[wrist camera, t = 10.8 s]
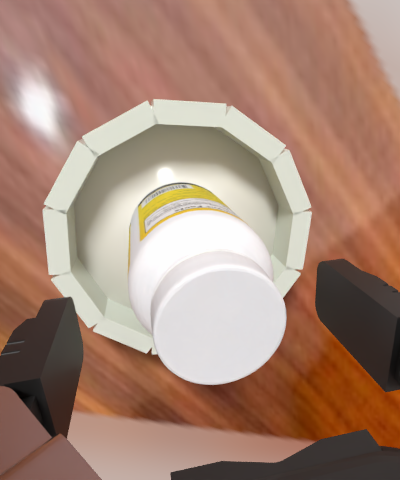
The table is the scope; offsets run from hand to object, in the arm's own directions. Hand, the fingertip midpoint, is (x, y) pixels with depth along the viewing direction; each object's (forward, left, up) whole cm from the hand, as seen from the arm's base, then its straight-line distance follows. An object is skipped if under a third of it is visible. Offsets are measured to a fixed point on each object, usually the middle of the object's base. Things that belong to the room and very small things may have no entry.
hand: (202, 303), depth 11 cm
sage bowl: (0, 0, -9) cm, 9 cm away
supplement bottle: (0, 0, -9) cm, 9 cm away
